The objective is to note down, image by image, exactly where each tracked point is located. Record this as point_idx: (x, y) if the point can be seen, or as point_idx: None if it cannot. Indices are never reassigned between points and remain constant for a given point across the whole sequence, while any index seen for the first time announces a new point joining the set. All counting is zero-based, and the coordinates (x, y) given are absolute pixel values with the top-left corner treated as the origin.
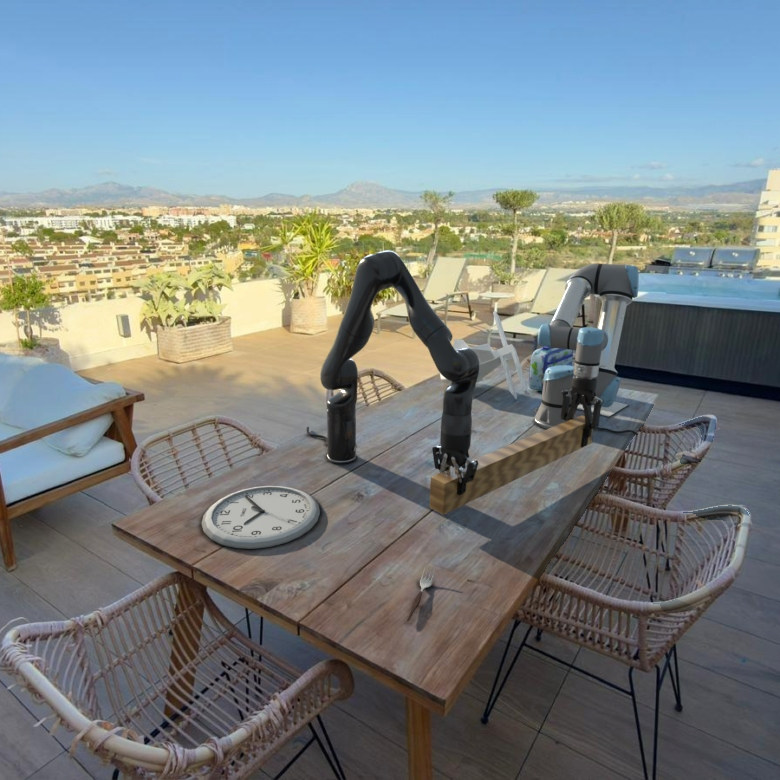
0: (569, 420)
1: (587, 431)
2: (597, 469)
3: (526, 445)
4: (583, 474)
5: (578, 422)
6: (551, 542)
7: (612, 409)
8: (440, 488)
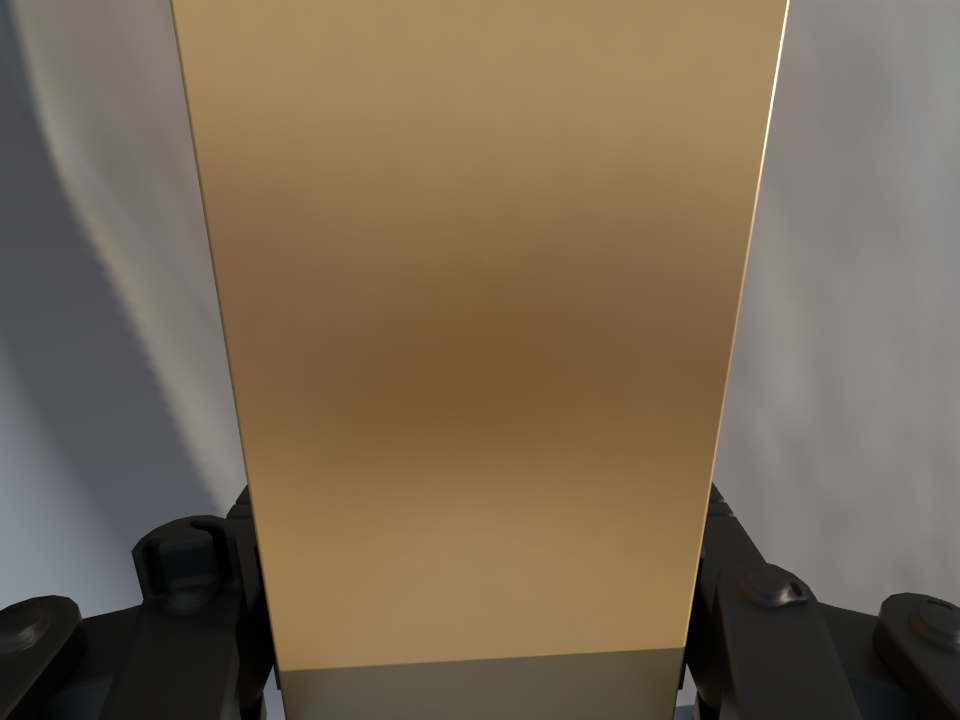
0: (684, 573)
1: (251, 545)
2: (168, 268)
3: None
4: (158, 19)
5: (423, 616)
6: None
7: None
8: None
